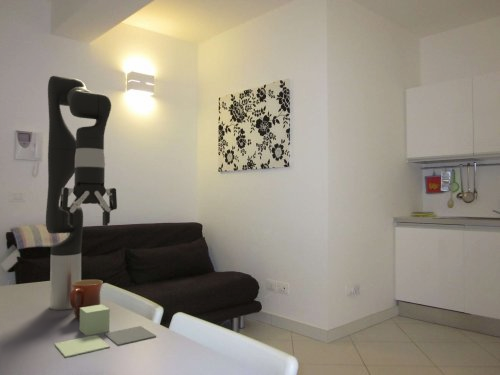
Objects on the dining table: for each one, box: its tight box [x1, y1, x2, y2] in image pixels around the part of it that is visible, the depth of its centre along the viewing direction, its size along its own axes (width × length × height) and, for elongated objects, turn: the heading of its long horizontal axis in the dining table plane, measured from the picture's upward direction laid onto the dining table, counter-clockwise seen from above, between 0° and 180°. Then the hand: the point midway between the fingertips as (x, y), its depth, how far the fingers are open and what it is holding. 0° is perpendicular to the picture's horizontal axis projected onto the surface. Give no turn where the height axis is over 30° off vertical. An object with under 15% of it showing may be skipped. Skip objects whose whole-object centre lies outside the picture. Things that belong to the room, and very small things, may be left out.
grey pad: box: [103, 325, 157, 346], centre depth 106 cm, size 10×10×1 cm
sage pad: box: [54, 334, 111, 358], centre depth 98 cm, size 10×10×1 cm
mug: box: [70, 279, 104, 320], centre depth 121 cm, size 12×9×10 cm
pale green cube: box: [79, 303, 111, 337], centre depth 110 cm, size 6×6×6 cm
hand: (89, 226), depth 109 cm, fingers open, 8 cm apart
